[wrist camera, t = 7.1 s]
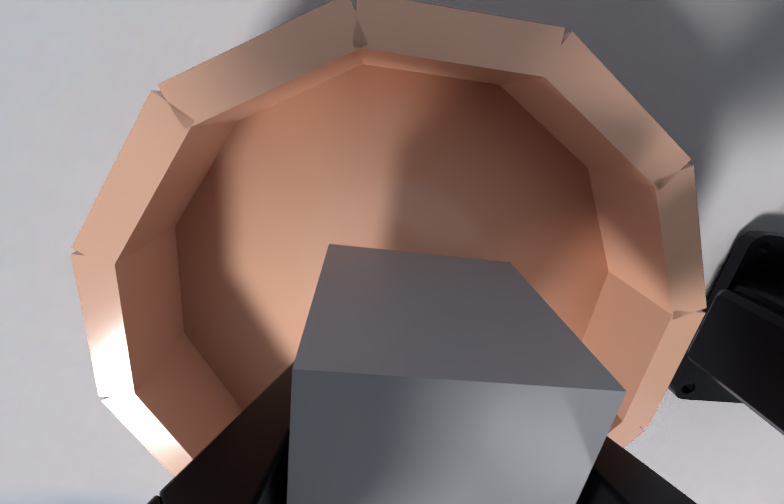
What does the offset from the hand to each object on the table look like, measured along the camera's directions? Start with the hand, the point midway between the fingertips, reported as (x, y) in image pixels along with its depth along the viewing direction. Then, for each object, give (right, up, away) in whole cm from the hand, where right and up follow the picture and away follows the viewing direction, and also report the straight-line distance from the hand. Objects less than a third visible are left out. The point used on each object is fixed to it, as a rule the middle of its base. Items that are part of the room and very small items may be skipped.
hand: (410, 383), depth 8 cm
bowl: (0, +2, +4) cm, 4 cm away
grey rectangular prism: (0, 0, +1) cm, 1 cm away
